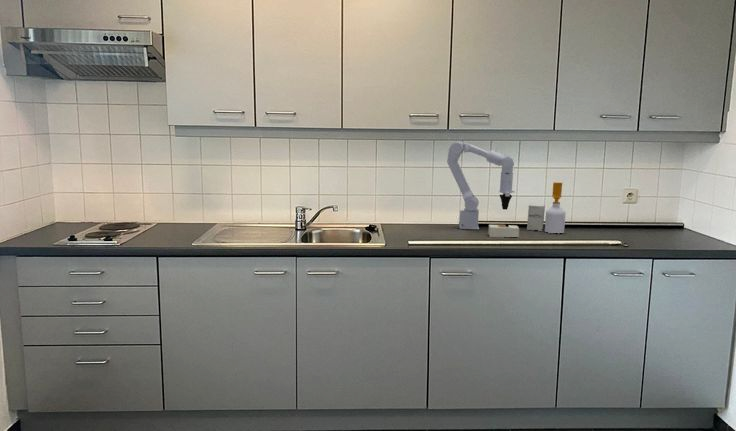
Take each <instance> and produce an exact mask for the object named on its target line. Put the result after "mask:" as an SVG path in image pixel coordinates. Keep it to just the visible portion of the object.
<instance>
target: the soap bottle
mask: <svg viewBox="0 0 736 431" xmlns="http://www.w3.org/2000/svg"><path fill="white" fill-rule="evenodd" d="M562 190H563V182H557V181H556V182H554V181H553V184H552V198H553V199H554V201H552V206H551V207H549V208H548V209H547V210H545V217H544V222H545V223H544V232H545V233H546V232H548V233H547V234H550V233H558V234H557V235H560V234H559V233H563V234H564V233H565V224H566V223H565V222H566V211H565V210H564V209H563V208H561V202H560V201H559V200H560V199H561V198H562Z"/></svg>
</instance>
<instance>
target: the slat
mask: <svg viewBox="0 0 736 431" xmlns="http://www.w3.org/2000/svg"><path fill="white" fill-rule="evenodd" d="M496 225H498V227H506V228H508V226H506V224H499V223H498V224H496Z"/></svg>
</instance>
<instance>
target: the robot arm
mask: <svg viewBox="0 0 736 431" xmlns="http://www.w3.org/2000/svg"><path fill="white" fill-rule="evenodd" d="M463 153H464V154H465V153H472V154H475V155H478V156H481V157H483V158H485V160H486V162H488V163H490V164H493V165H495V166H498V167H500V166H501V172H500V180H499V181H500V186H499V187H500V188H499V193H501V194H499V197H500V202H501V208H502V210H508V208H509V204H510V201H511V199H512V198H513V195H512V193H515V190H513V178H514V165H515V163H514V162H515V161H514V159H513V158H512V157H510V156H509V155H508V156H507V154H505V153H504V154H502V153H500V152H498V151H497V150H496V149H494V150H492V149H491V150H489V151H487V150H486V149H482V148H480V147H478V146H476V145H473V144H471V143H468V142H462V141H461V140H457V141H453V142H452V143H451V144H450V146H449V148H448V154H447V165H448V168H450V171H451V173H452V176H453V178H454V179H455V182H456V183H457V184H456V185H457V186H458V188H459V190H460V193H461V195H462V198H463V202H464V207H465V208H463V210H460V211H459V218H458V220H459V222H458V225H459V226H458V227H459V229H460V230H478V231H479V230H480V227H479V212H480V209H479V208H478V206H479V202H480V201H479V199H478V198H477V197H476V196H475V195H474V193H473V191H472V190H471V187H470V185H469V183H468V182H467V178H466V176H465V175H464V173H463V170H462V169H461V166H460V164H459V162H458V161H459V159H460V157H461V155H462V154H463Z"/></svg>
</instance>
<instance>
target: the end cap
mask: <svg viewBox="0 0 736 431" xmlns="http://www.w3.org/2000/svg"><path fill="white" fill-rule="evenodd" d="M506 227H507V228H506ZM506 227H498V225H497V224H488V230H487V231H488V236H489V238H504V237H519V236H520V228H519V226H518V225H513V224H512V225H510V224H509V225H508V226H506Z"/></svg>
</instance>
